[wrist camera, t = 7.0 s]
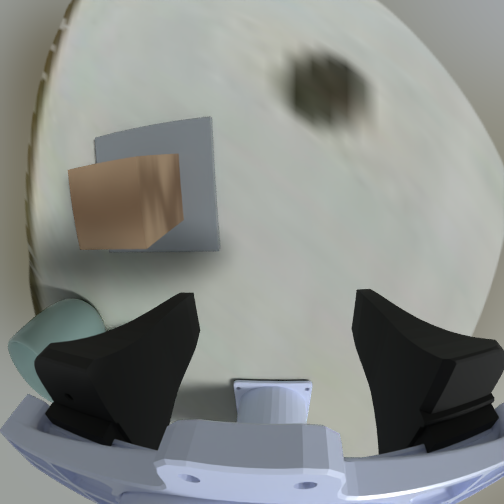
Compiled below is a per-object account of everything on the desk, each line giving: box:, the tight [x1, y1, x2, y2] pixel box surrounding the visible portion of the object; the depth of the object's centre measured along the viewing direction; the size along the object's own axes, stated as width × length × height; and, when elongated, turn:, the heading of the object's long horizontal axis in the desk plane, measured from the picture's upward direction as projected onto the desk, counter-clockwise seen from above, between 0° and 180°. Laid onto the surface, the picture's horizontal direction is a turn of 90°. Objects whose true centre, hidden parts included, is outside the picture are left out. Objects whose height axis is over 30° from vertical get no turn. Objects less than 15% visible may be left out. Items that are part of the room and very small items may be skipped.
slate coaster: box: [95, 117, 220, 252], centre depth 20 cm, size 10×10×1 cm
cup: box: [8, 298, 106, 403], centre depth 21 cm, size 8×8×10 cm
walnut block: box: [68, 154, 184, 250], centre depth 17 cm, size 5×5×6 cm
